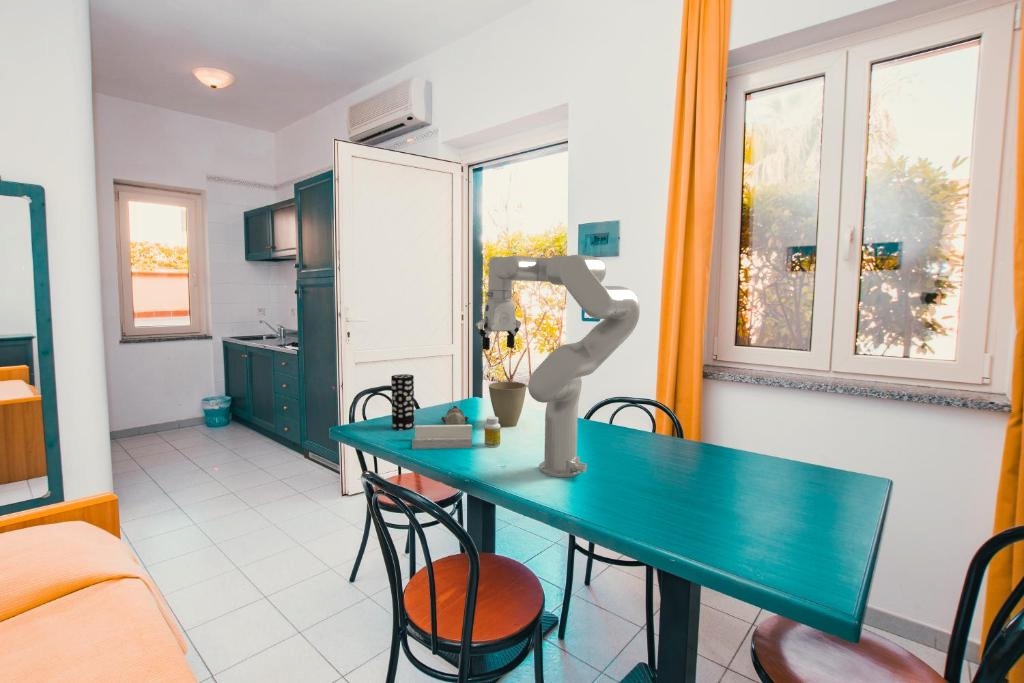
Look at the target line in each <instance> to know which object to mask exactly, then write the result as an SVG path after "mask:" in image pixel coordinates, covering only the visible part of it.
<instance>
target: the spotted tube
mask: <svg viewBox="0 0 1024 683" xmlns="http://www.w3.org/2000/svg"><path fill="white" fill-rule="evenodd" d="M390 378H391V382H390V383H391V428H392V429H393V430H395V431H410V430H413V429H415V384H414V383H415V382H414V381H415V377H414V375H413V374H408V373H407V374H406V373H405V374H404V373H403V374H394V375H391V376H390Z"/></svg>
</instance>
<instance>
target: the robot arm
mask: <svg viewBox="0 0 1024 683" xmlns="http://www.w3.org/2000/svg"><path fill="white" fill-rule="evenodd" d="M606 273H607V269H606V266H605V263H604V262H603V261H602V260H601V259H600V258H598V257H596V256H592V255H585V254H571V255H566V254H565V255H561V254H560V255H558V254H557V255H556V254H555V255H552V256H551V257H533V256H523V255H522V256H521V255H508V256H492V257H490V258H489V262H488V286H487V287H488V290H487V291H486V292H485V297H487V299H486V302H485V306H484V311H483V318H482V319H481V320H479V321H478V322H476V323H475V327H476V329H477V332H478V334H479V335H480V338H481V339H482V340H481V344H482V345H481V346H482V350H485V351H490V349H491V347H490V345H491V338H490V335H491V334H492V332H494V333H497V332H498V333H500V332H507V335H506V347H507V348H508V349H514V348H515V337H516V336H517V333H519V330H520V328H521V325H522V322H521V321H520V320H519V319H516V307H515V306H516V305H515V302H514V300H512V296H513V295H512V293H513V292H512V291H513V290H512V289H513V281H515V282H516V281H518V282H521V281H522V282H523V281H524V282H542V283H543V282H546V283H550V284H551V285H554V286H555V285H556V286H564V287H565V288H566V290H567V291H568V292H569V293H568V294H570V295H571V297H572V298H573V299H574V301H575V302H576V303H577V304H578V305H579V307H580V308H581V309H582V310H583V312H584V313H585V314H587V315H588V316H589V317H590V318H593V319H597V320H602V321H601V322H599V323H597V324H596V325H595V326H593V327H592V329H591V330H590V331H589V332H588V333H587V334H586V335H585V336H584V337H582V339H580V340H579V341H576V342H574V343H565V344H563V345H560V346H558V347H556V348H555V349H554V350H553V351H551V352H550V354H549V355H547V357H546V358H545V359H544V360H543V361H542V362H541V363H540V364H539V365H538V366H537V367H536V369H535V370H534V371H533V372H532V373H531V374H530V375H531V376H530V377H529V379H528V384H527V386H528V387H527V388H528V392H529V395H530V396H531V398H532V399H533V400H534V401H536V402H538V403H542V404H543V403H544V404H546V406H545V412H544V413H545V416H544V417H545V418H544V421H545V422H544V461H542V462H540V463H539V465H538V470H539V471H540V472H541V473H542V474H544V475H546V476H549V477H553V478H571V477H575V476H577V475H580V474H581V473H584V474H585V473H586V472H587V467H588V464H587V463H584V462H581V461H580V459H581V458H580V457H581V456H578V455H577V454H578V453H577V452H578V449H577V448H578V419H579V418H578V416H579V415H578V414H579V402H580V396H581V392H582V385H583V384H582V377H586V376H589V375H591V374H594V373H595V371H596V370H598V369H599V367H601V365H602V364H603V363H604V362H605V361H606V360H608V358H609V357H611V356H612V355H613V353H614V352H615V351H616V350H617V349H618V348H619V347H620V346H621V345H622V344H623V343H624V342H625V341H626V340H627V339H628V338H629V337H630V336H631V335H632V334H633V332H634V331H635V328H636V327H637V324H638V322H639V320H640V319H639V318H640V314H641V313H640V303H639V302H640V301H639V300H638V297H637V295H636V294H635V292H633V290H631V289H629V288H627V287H624V286H619V285H609V286H608V285H603V284H602V282H603V280H604V279H605V276H606Z"/></svg>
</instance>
